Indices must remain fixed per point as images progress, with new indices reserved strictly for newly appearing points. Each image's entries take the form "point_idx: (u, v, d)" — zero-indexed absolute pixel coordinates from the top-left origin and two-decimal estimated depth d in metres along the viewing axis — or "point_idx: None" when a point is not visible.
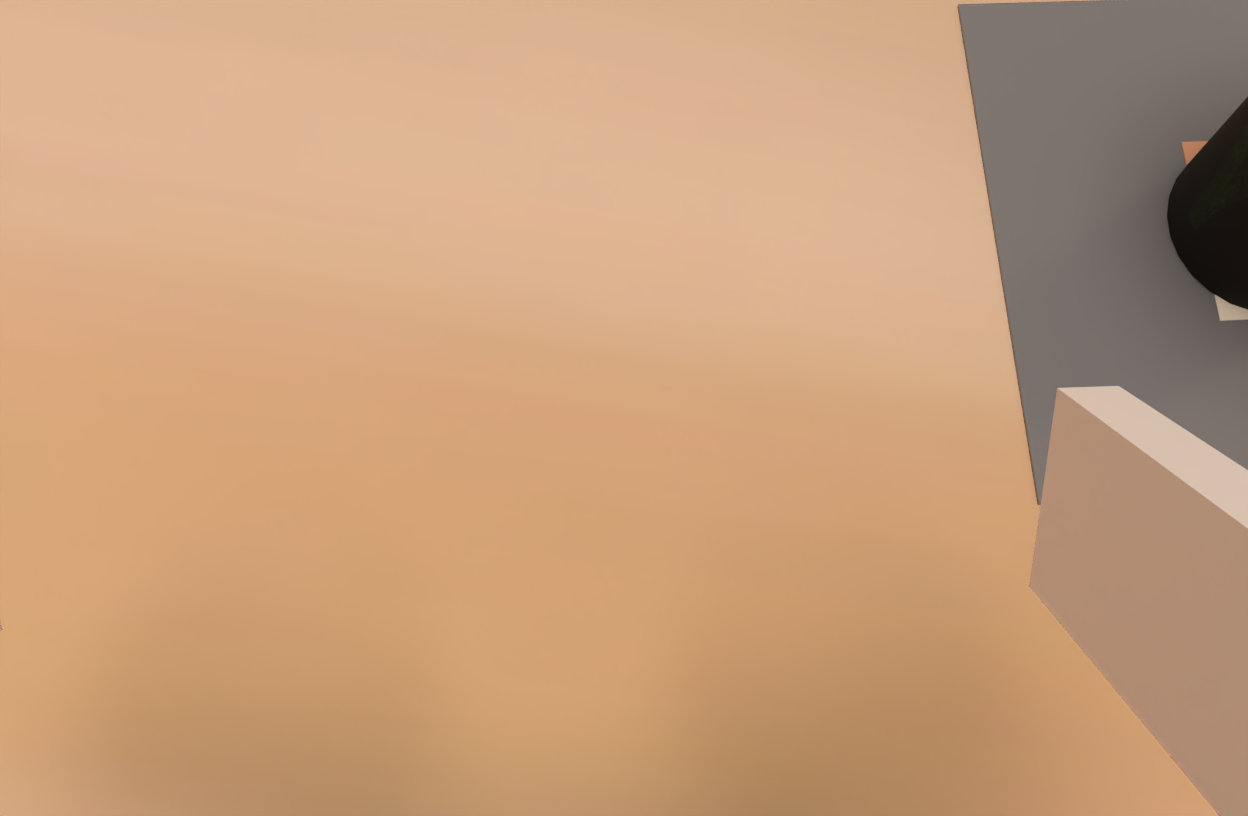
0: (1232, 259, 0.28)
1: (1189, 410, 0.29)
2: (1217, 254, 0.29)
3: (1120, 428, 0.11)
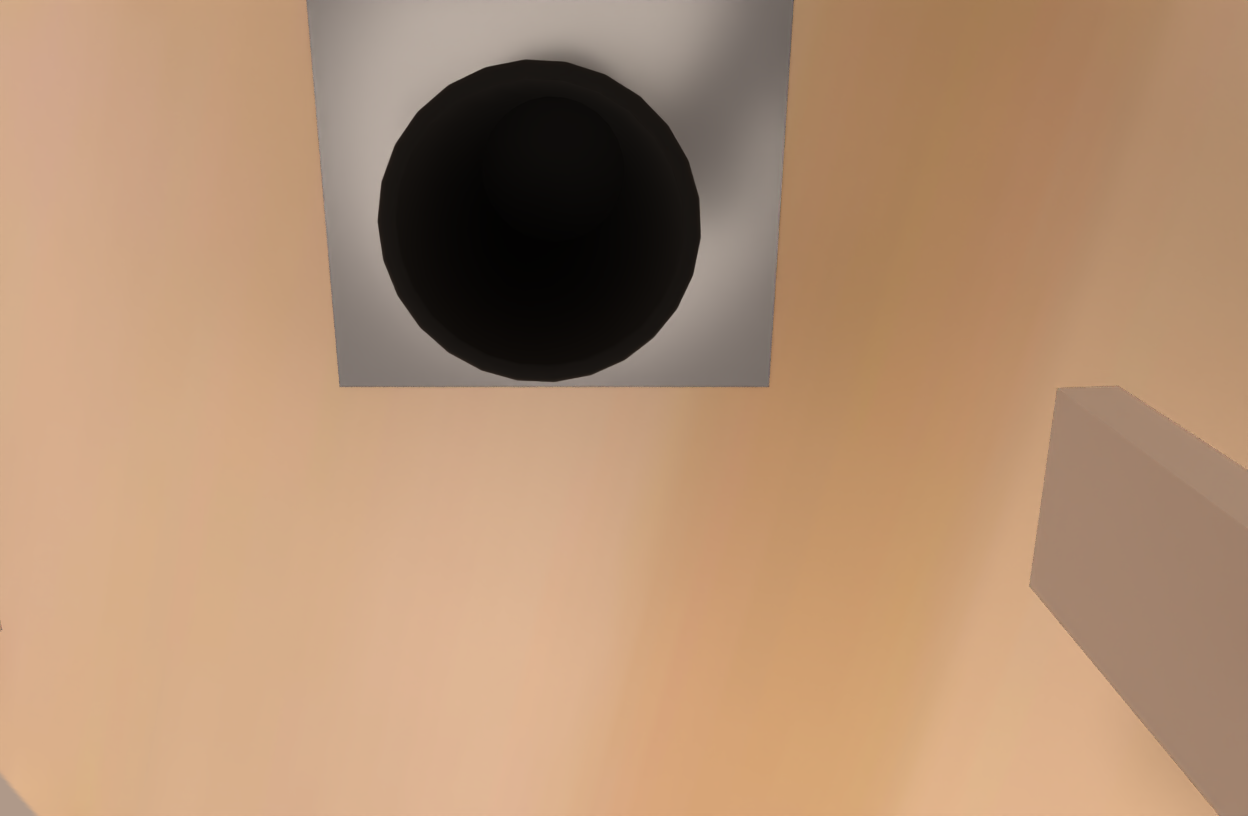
0: None
1: (709, 262, 0.37)
2: None
3: (1121, 427, 0.11)
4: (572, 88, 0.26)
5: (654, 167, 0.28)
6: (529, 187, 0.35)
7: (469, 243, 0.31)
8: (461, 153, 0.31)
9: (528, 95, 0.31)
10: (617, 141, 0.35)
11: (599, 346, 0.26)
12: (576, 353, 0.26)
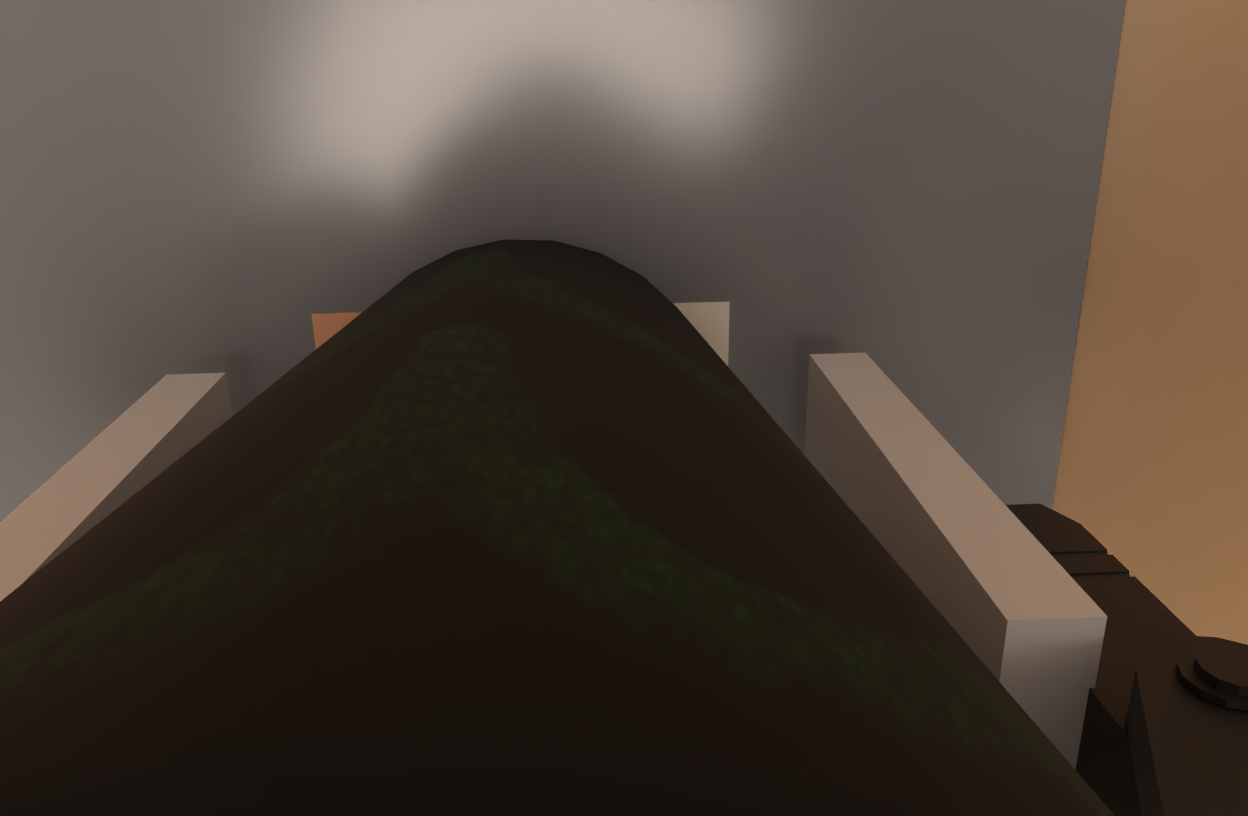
0: None
1: None
2: None
3: (841, 387, 0.12)
4: None
5: None
6: None
7: None
8: None
9: None
10: None
11: None
12: None
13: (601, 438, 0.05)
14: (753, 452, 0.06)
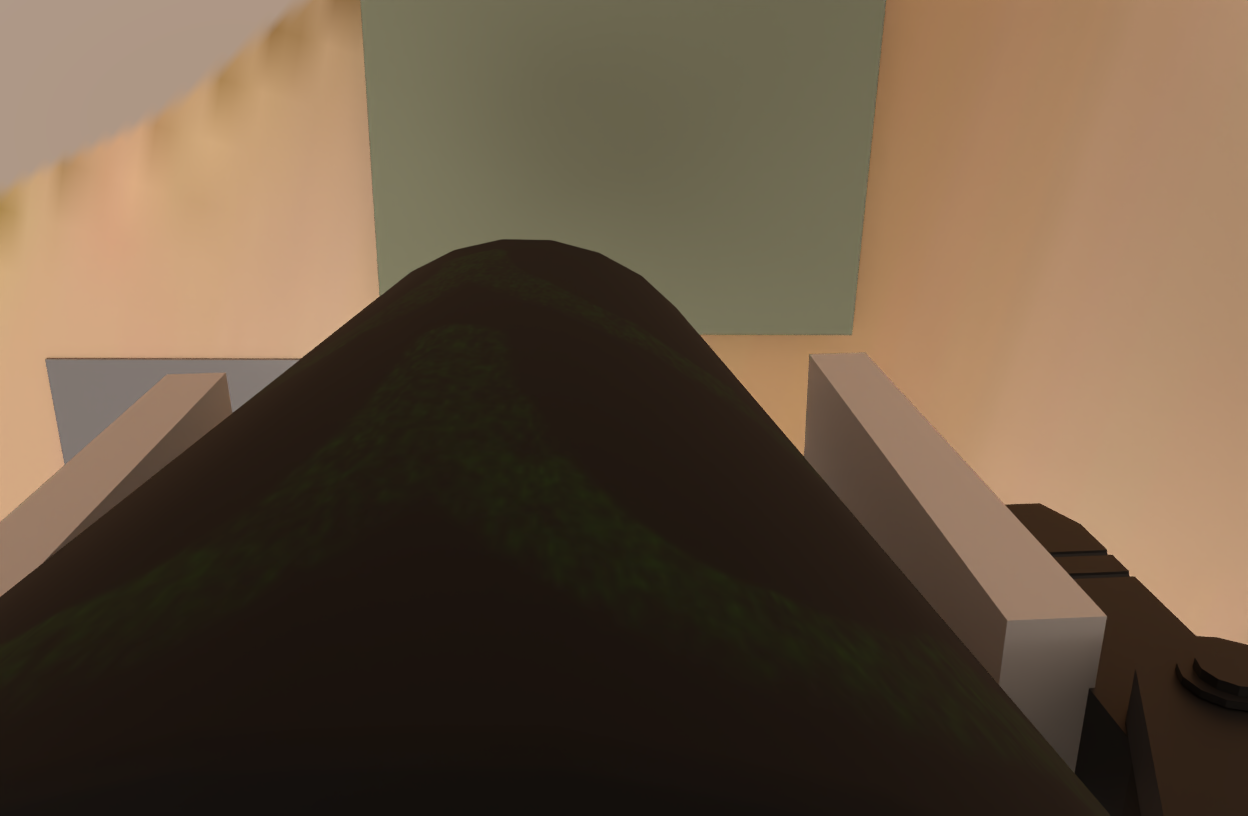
0: None
1: None
2: None
3: (841, 386, 0.12)
4: None
5: None
6: None
7: None
8: None
9: None
10: None
11: None
12: None
13: (597, 436, 0.05)
14: (749, 451, 0.06)
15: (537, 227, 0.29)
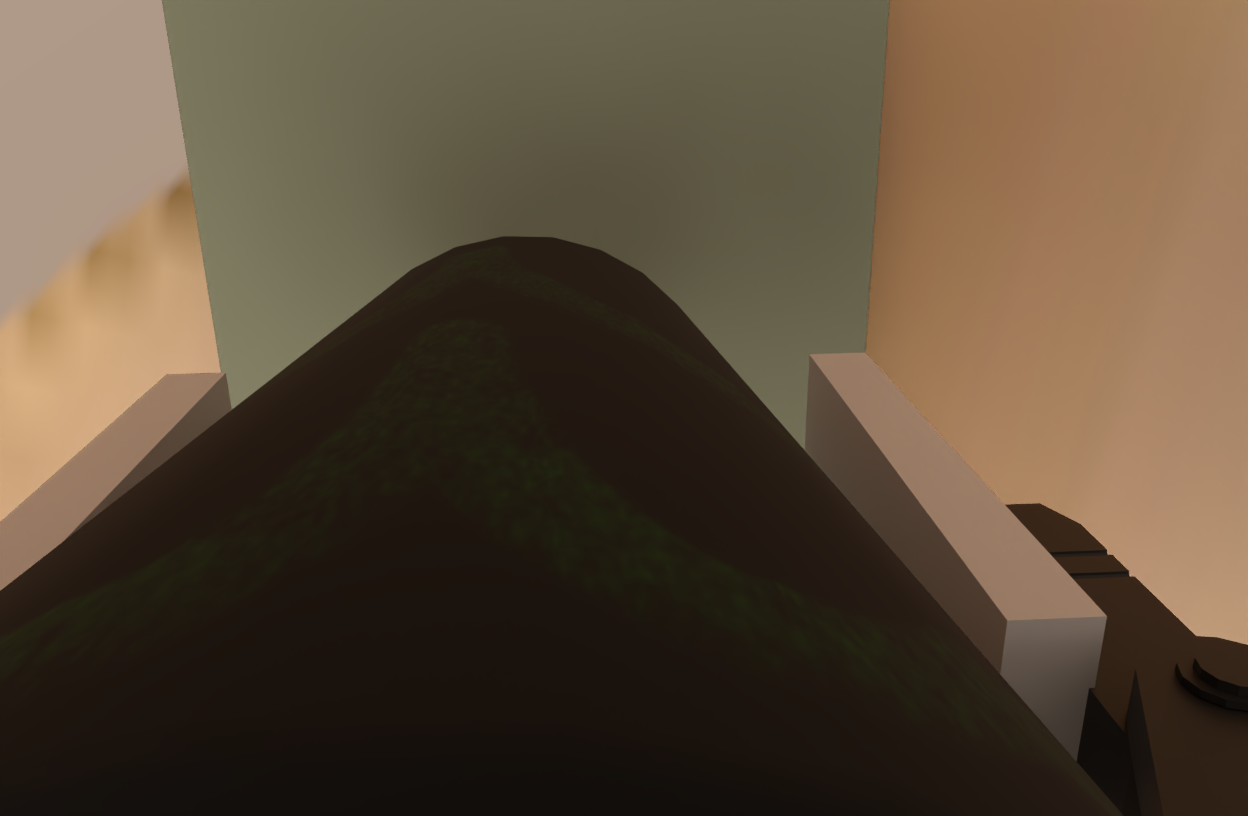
0: None
1: None
2: None
3: (841, 386, 0.12)
4: None
5: None
6: None
7: None
8: None
9: None
10: None
11: None
12: None
13: (599, 429, 0.05)
14: (753, 445, 0.06)
15: None
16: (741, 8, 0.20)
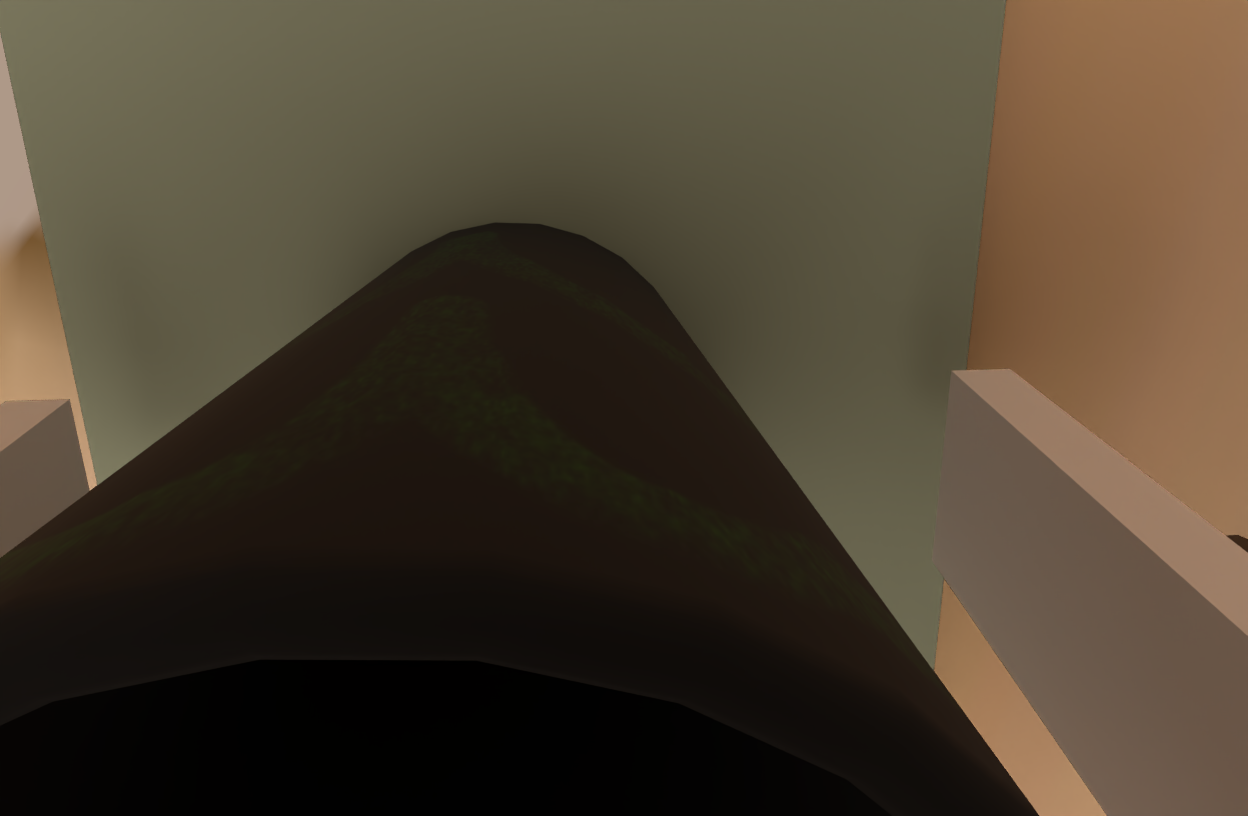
0: None
1: None
2: None
3: (1000, 407, 0.12)
4: None
5: None
6: None
7: (284, 706, 0.12)
8: None
9: None
10: None
11: None
12: None
13: (550, 382, 0.07)
14: (685, 401, 0.08)
15: None
16: None
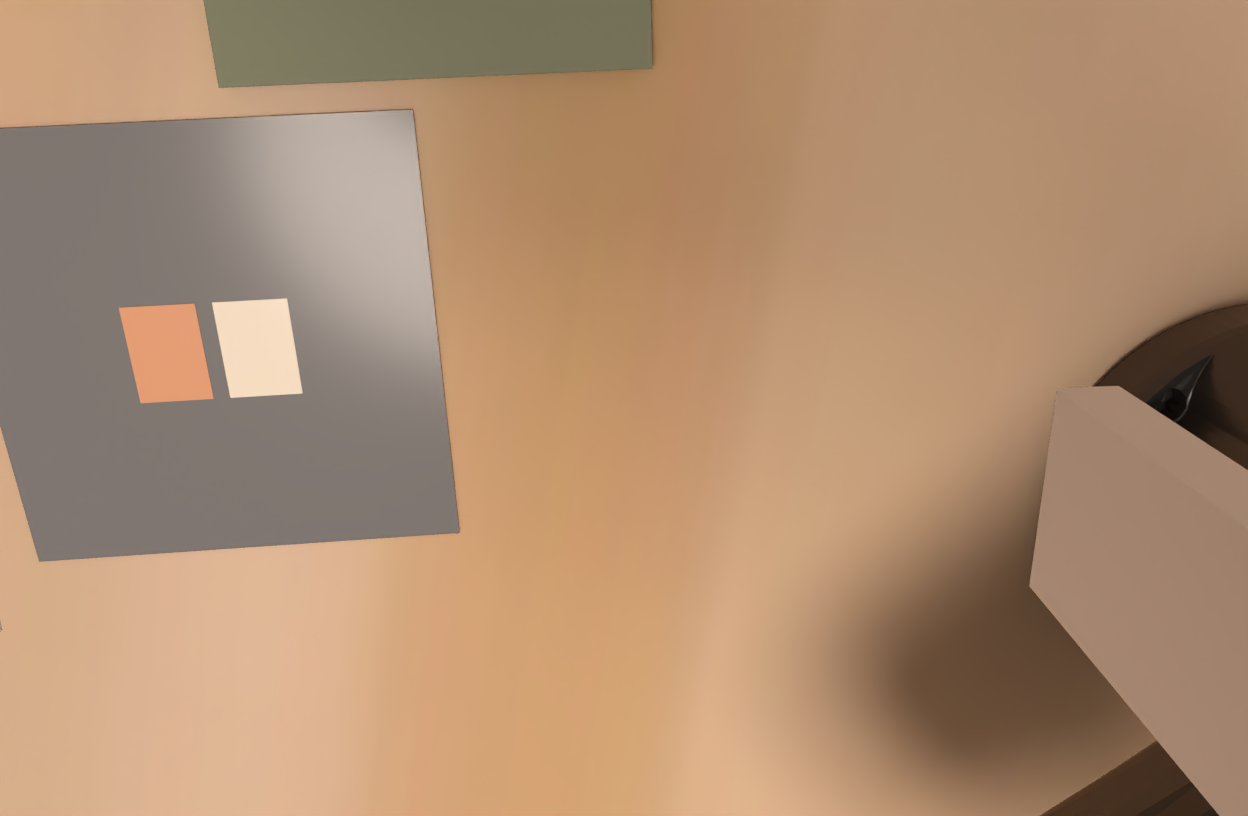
0: None
1: (380, 425, 0.38)
2: None
3: (1120, 428, 0.11)
4: None
5: None
6: None
7: None
8: None
9: None
10: None
11: None
12: None
13: None
14: None
15: None
16: None
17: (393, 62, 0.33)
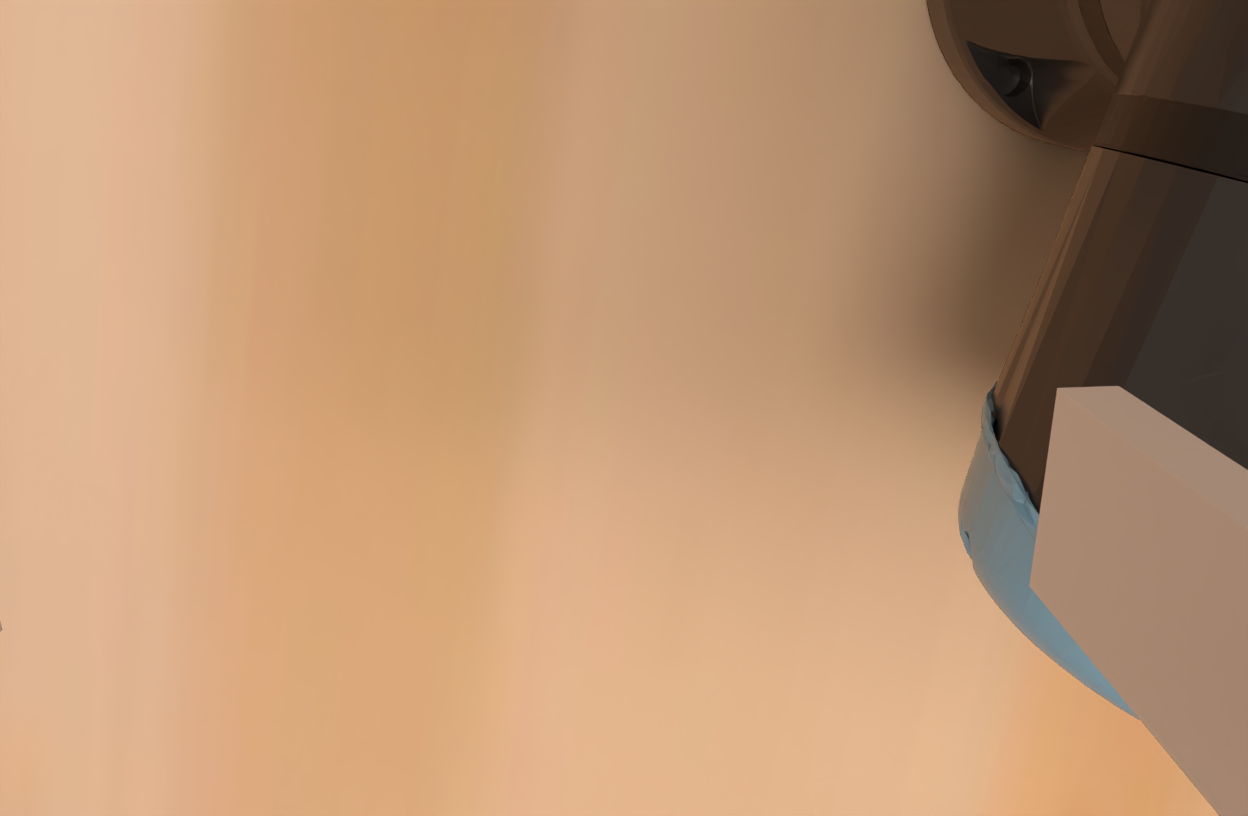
0: None
1: None
2: None
3: (1121, 428, 0.11)
4: None
5: None
6: None
7: None
8: None
9: None
10: None
11: None
12: None
13: None
14: None
15: None
16: None
17: None
